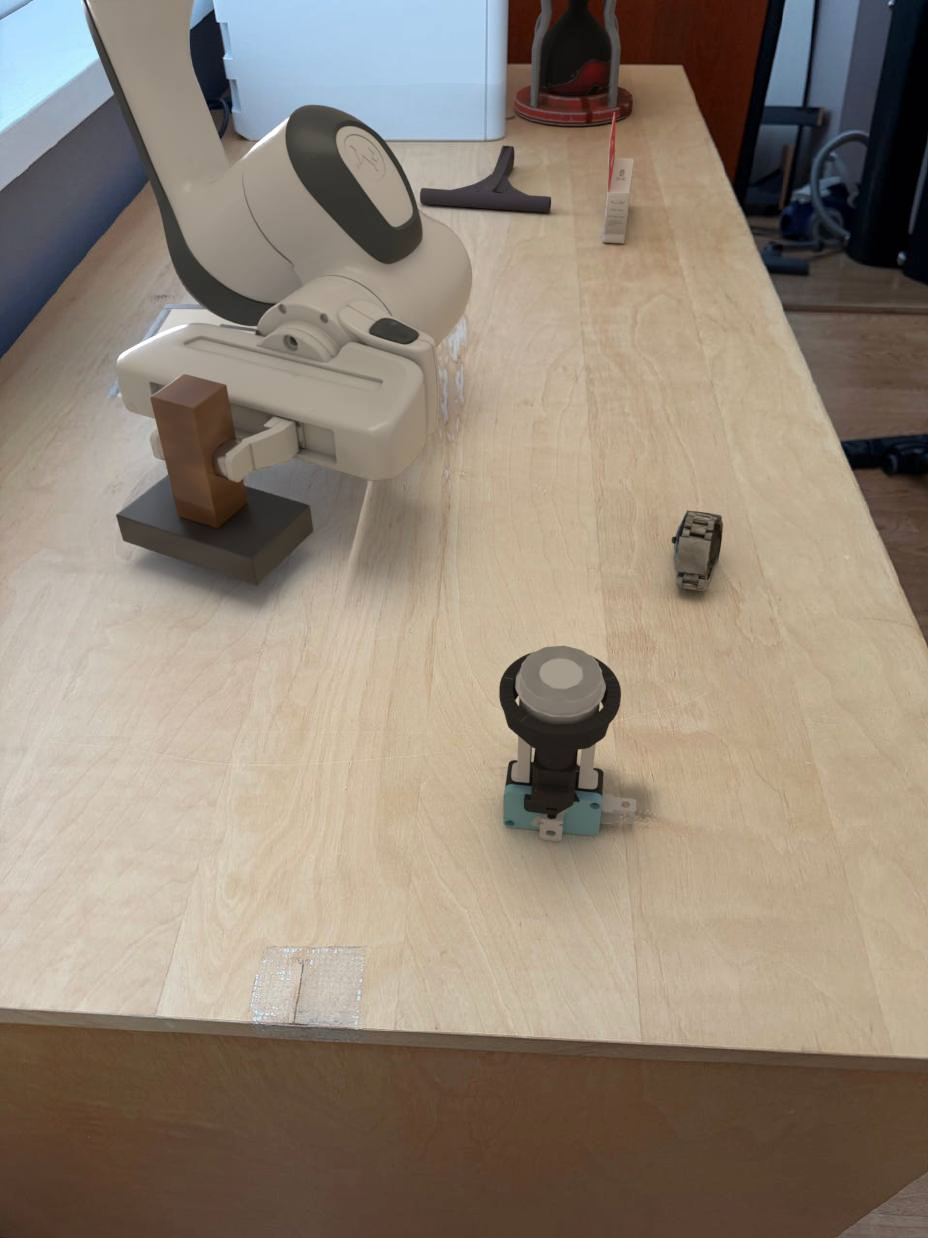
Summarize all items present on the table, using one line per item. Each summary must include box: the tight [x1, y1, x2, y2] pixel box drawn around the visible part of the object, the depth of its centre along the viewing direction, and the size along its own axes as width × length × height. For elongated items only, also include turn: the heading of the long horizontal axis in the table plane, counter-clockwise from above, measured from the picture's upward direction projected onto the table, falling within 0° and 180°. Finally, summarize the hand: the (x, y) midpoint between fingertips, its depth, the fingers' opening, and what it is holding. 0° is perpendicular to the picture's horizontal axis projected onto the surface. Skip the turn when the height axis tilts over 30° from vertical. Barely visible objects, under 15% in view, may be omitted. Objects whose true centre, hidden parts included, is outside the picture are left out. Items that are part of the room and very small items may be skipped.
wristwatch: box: [671, 509, 724, 592], centre depth 64 cm, size 3×5×5 cm
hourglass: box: [513, 0, 634, 127], centre depth 134 cm, size 16×16×25 cm
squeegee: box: [419, 145, 552, 214], centre depth 119 cm, size 14×15×3 cm
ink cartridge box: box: [602, 112, 635, 245], centre depth 107 cm, size 2×11×10 cm, turn 171°
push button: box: [498, 645, 637, 842], centre depth 48 cm, size 7×5×10 cm
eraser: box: [115, 374, 314, 587], centre depth 61 cm, size 10×6×10 cm, turn 63°
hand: (192, 460), depth 59 cm, fingers closed on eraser, 3 cm apart
